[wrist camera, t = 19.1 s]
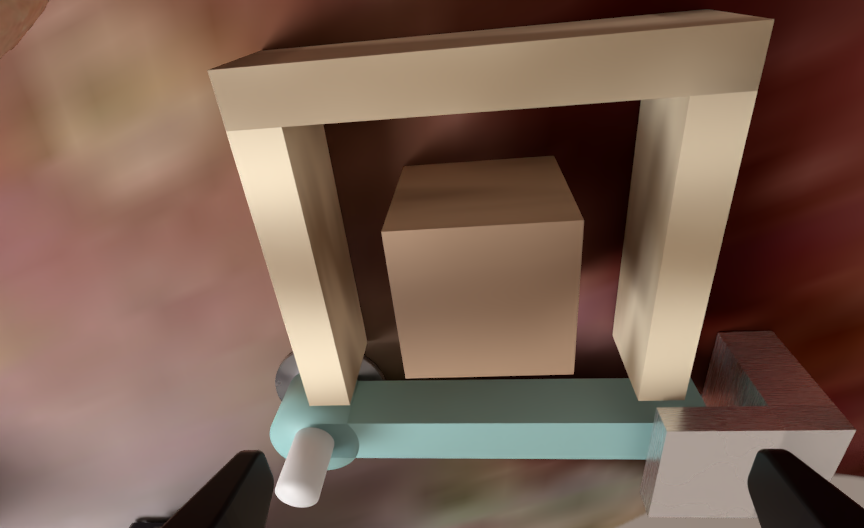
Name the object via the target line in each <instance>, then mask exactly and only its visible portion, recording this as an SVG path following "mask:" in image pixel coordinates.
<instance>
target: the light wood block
mask: <svg viewBox="0 0 864 528" xmlns="http://www.w3.org/2000/svg"><path fill="white" fill-rule="evenodd" d="M583 229H584V219H583V217H582V215H581V212H580V210H579V208H578V206H577V204H576V202H575V200H574V197H573V195H572V193H571V191H570V189H569V187H568V185H567V182H566V180H565V178H564V176H563V174H562V172H561V170H560V168H559V165H558V163H557V161H556V159H555V157H554V156H540V157H526V158H511V159H497V160H483V161H469V162H455V163H441V164H427V165H413V166H403V169H402V172H401V175H400V178H399V181H398V184H397V187H396V190H395V193H394V196H393V199H392V202H391V204H390V207H389V210H388V213H387V216H386V219H385V222H384V225H383V228H382V231H381V234H382V240H383V246H384V252H385V258H386V264H387V270H388V276H389V282H390V288H391V294H392V300H393V306H394V312H395V318H396V324H397V330H398V336H399V342H400V348H401V354H402V360H403V366H404V372H405V379H409V378H448V377H488V376H527V375H567V374H574V364H575V349H576V334H577V319H578V304H579V289H580V274H581V259H582V244H583Z"/></svg>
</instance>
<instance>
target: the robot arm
mask: <svg viewBox="0 0 864 528" xmlns="http://www.w3.org/2000/svg"><path fill="white" fill-rule="evenodd" d="M747 485H748V491H749V494H750V497H751V500H752V502H753V505H754V508H755V511H756V514H757V517H758V519H759V522H760V525H761V528H864V508H862V507H861V506H860V505H859V504H857V503H856V502H855V501H853V500H852V499H851V498H849V497H848V496H847V495H846V494H844V493H843V492H842V491H840V490H839V489H838V488H836V487H835V486H834V485H833V484H831V483H830V482H829V481H827V480H826V479H825V478H824V477H822V476H821V475H820V474H818V473H817V472H816V471H815V470H813V469H812V468H811V467H809V466H808V465H807V464H805V463H804V462H803V461H802V460H800V459H799V458H798V457H796V456H795V455H794V454H792V453H791V452H789V451H787V450H785V449H761V450H759V451H758V452H757V454H756V457H755V459H754V462H753V465H752V467H751V470H750V473H749V475H748V480H747ZM273 487H274V479H273V475H272V472H271V470H270V467H269V465H268V462H267V460H266V457H265V455H264V453H263V452H262V451H259V450H244V451H241V452H239V453H237V454H236V455H235V456H234V457H233V458H232V459H231V460H230V461H229V462H228V463H227V464H226V465H225V466H224V467H223V468H222V469H221V470H220V471H219V472H218V473H217V474H216V475H215V476H214V477H212V478H211V479H210V480H209V481H208V482H207V483H206V484H205V485H204V486H203V487H202V488H201V489H200V490H199V491H198V492H197V493H196V494H195V495H194V496H193V497H192V498H191V499H190V500H189V501H188V502H187V503H186V504H185V505H184V506H183V507H182V508H181V509H179V510H178V511H177V512H176V513H175V514H174V515H173V516H172V517H171V518H170V519H169V520H168V521H167V522H166V523H139V522H136V523H132V524H131V525H130V527H129V528H265V524H266V519H267V515H268V510H269V506H270V501H271V497H272V493H273Z"/></svg>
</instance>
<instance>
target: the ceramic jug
mask: <svg viewBox="0 0 864 528" xmlns="http://www.w3.org/2000/svg"><path fill="white" fill-rule="evenodd" d="M48 2H49V0H0V59H1V58H2V56H3V55H4V54H6V53H7V52H8V51H9V50H12V49H13V48H14V47H15V46H16V45H17V44H18V43H19V41H20V40H21V39H22V37H23V36H24V35H25V34H26V32H27V31H28V30H29V29H30V28H31V27H32V25H33V24H34V22H35V21H36V20H37V18H38V17H39V16H40V15H41V14H42V12H43V11H44V9H45V8H46V5H47V3H48Z"/></svg>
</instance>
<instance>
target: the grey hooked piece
mask: <svg viewBox="0 0 864 528" xmlns="http://www.w3.org/2000/svg"><path fill="white" fill-rule="evenodd" d="M297 374H299V369H298V366H297V363H296V360H295V356H294V353H293V352H292V353H290V354H289V355H288V356H287V357H286V358H285V359H284V360H283V362H282V363H281V365H280V367H279V369H278V371H277V374H276V380H275V384H276V390H277V393H278V396H279V398H280V399H281V401H282V400H283V398H284V396H285V393H286V391H287V389H288V387H289V384H290V382H291V381H292V379H293V378H294V377H295V376H296V375H297ZM357 380H358V381H386V380H385V378H384V375H383V374H382V372H381V370H380V369H379V368H378V367H377V366H376V364H374V363H373V362H372V361H371V360H370V359H369V358H367V357H366V356H363V360H362V363H361V367H360V371H359V374H358V378H357ZM701 397H702V399H703V401H704V403H705V405H706V406H707V407H657V408H656V413H655V418H654V423H653V428H652V433H651V438H650V443H649V448H648V453H647V458H646V463H645V468H644V473H643V478H642V483H641V488H640V494H641V497H642V500H643V503H644V506H645V509H646V512H647V515H648V517H686V518H687V517H689V518H694V517H695V518H758V517H757V514H756V511H755V508H754V505H753V502H752V500H751V497H750V494H749V491H748V485H747V480H748V475H749V473H750V470H751V467H752V465H753V462H754V459H755V457H756V454H757V452H758V451H759V450H761V449H785V450H787V451H789V452H791V453H792V454H794V455H795V456H796V457H798V458H799V459H800V460H802V461H803V462H804V463H805V464H807V465H808V466H809V467H811V468H812V469H813V470H815V471H816V472H817V473H818V474H820V475H821V476H822V477H824V478H825V479H826V480H827V481H829V482H830V481H831V479H832V477H833V475H834V473H835V471H836V469H837V467H838V465H839V463H840V461H841V459H842V457H843V455H844V453H845V451H846V449H847V447H848V445H849V443H850V441H851V439H852V437H853V435H854V433H855V431H856V429H855V428H854V427H853V426H852V424H851V423H850V422H849V421H848V420H847V419H846V417H845V416H844V415H843V414H842V413H841V411H840V410H839V409H838V408H837V407H836V406H835V404H834V403H833V402H832V401H831V400H830V398H829V397H828V396H827V395H826V394H825V393H824V391H823V390H822V389H821V388H820V387H819V385H818V384H817V383H816V382H815V381H814V380H813V378H812V377H811V376H810V375H809V374H808V372H807V371H806V370H805V369H804V368H803V367H802V365H801V364H800V363H799V362H798V361H797V359H796V358H795V357H794V356H793V355H792V354H791V352H790V351H789V350H788V349H787V348H786V346H785V345H784V344H783V343H782V342H781V341H780V339H779V338H778V337H777V336H776V335H775V333H774V332H773V331H745V332H718V333H717V337H716V341H715V345H714V349H713V353H712V357H711V360H710V364H709V368H708V372H707V376H706V380H705V384H704V388H703V391H702V395H701Z"/></svg>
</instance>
